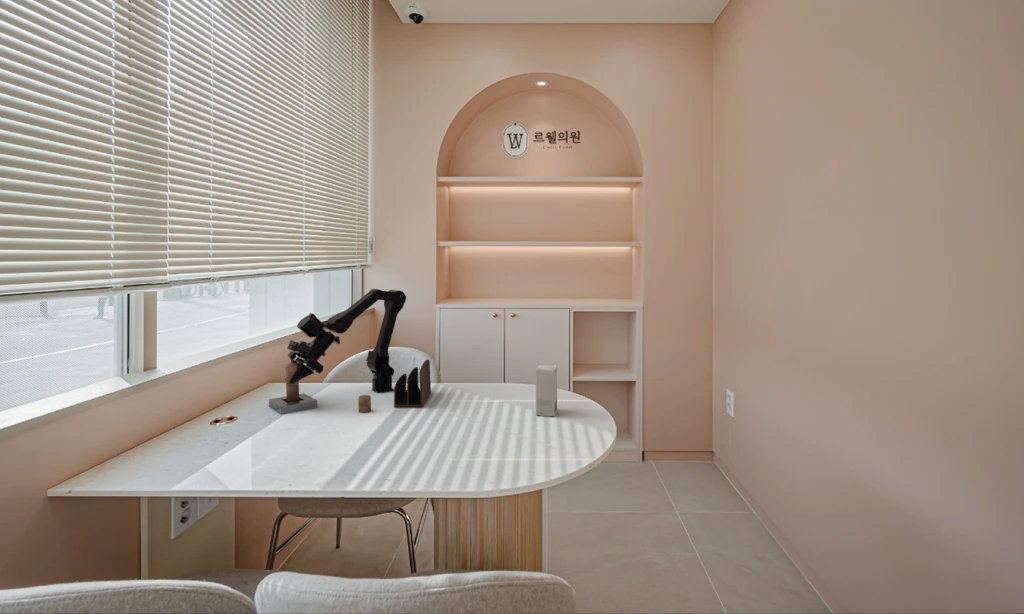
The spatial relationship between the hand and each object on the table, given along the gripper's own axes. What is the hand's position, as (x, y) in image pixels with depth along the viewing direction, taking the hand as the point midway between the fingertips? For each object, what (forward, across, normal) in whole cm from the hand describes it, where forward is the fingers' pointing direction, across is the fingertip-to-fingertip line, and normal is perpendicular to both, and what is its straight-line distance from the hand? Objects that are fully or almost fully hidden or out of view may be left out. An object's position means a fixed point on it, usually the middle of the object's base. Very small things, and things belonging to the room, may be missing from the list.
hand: (288, 381), depth 177 cm
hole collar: (+6, 0, +7) cm, 9 cm away
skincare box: (-37, +62, +50) cm, 88 cm away
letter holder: (-19, +20, +33) cm, 43 cm away
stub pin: (-6, +20, +19) cm, 28 cm away
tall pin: (+4, 0, +6) cm, 8 cm away
